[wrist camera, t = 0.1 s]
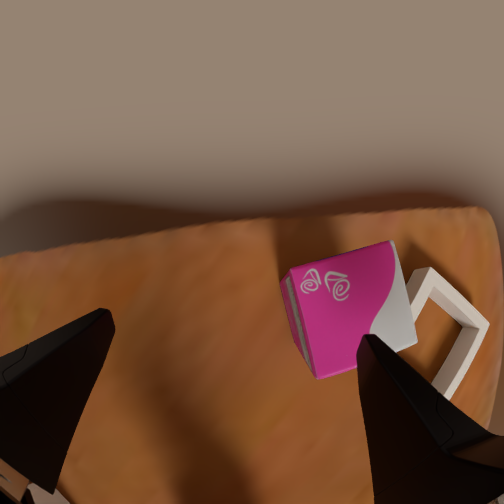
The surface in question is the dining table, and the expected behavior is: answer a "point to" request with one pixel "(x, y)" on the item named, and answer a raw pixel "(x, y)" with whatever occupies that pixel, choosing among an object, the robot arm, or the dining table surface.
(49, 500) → the milk
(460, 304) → the collar
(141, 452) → the dining table surface
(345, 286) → the supplement box
